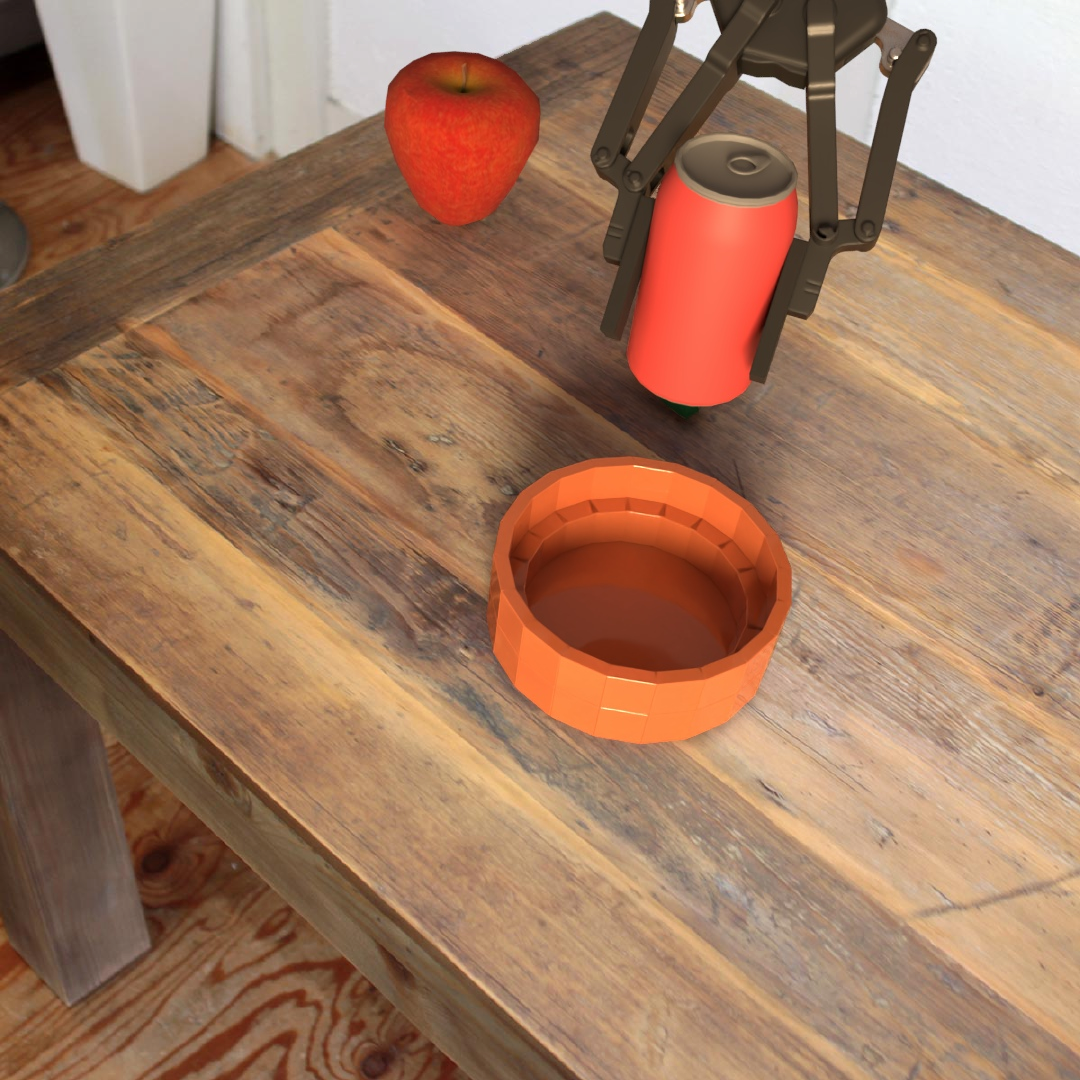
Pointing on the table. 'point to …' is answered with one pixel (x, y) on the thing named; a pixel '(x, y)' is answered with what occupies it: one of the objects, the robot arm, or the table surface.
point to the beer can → (712, 267)
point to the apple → (460, 132)
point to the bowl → (636, 598)
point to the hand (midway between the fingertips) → (683, 356)
